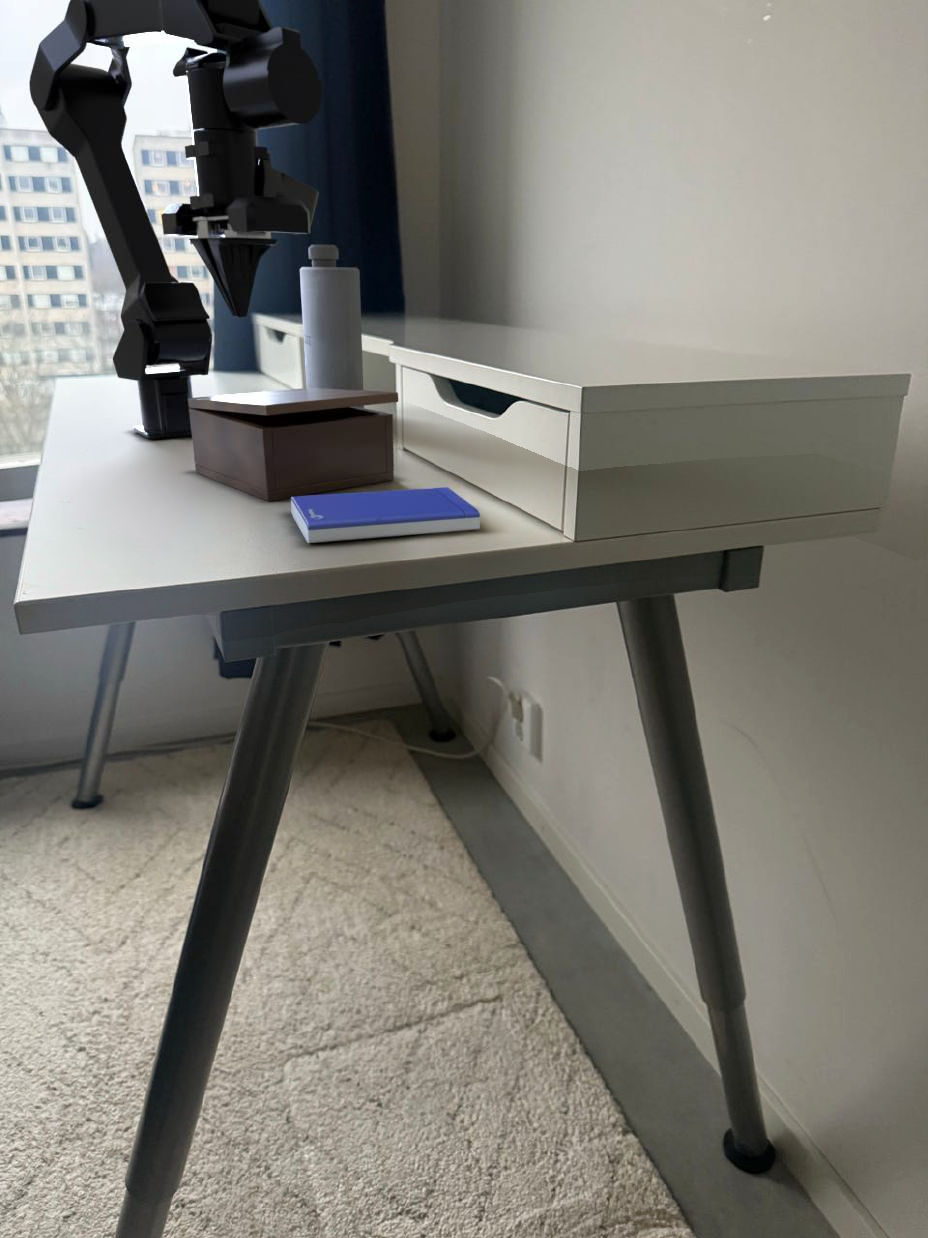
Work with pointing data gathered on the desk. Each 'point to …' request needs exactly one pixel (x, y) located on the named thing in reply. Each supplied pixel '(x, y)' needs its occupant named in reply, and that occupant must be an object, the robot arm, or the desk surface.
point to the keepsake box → (293, 450)
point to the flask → (331, 322)
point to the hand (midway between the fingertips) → (240, 316)
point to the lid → (292, 400)
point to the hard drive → (382, 514)
